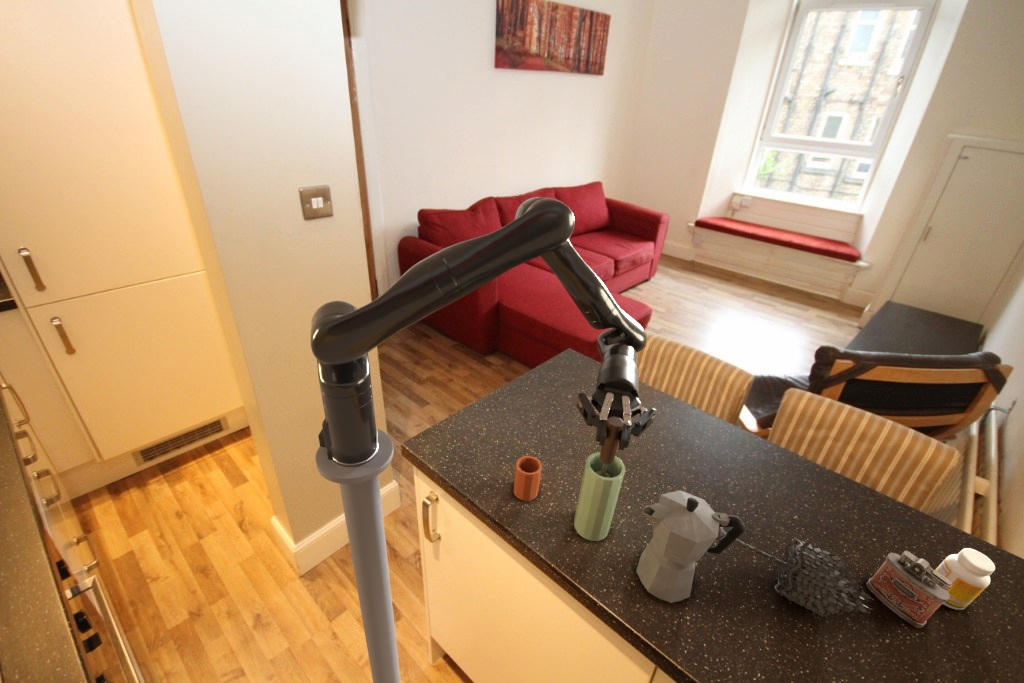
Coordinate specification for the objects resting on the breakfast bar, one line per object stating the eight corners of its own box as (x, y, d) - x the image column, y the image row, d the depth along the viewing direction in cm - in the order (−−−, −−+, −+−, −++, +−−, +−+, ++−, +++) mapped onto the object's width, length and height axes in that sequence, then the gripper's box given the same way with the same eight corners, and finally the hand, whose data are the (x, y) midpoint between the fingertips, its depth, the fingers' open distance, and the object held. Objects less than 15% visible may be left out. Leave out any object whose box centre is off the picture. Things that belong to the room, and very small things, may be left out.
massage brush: (714, 530, 82) (730, 495, 78) (855, 598, 73) (882, 562, 68) (704, 569, 75) (720, 533, 71) (858, 650, 65) (889, 614, 61)
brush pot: (513, 500, 85) (515, 473, 82) (513, 480, 89) (516, 455, 86) (538, 501, 85) (542, 475, 82) (537, 482, 89) (541, 456, 86)
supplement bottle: (916, 582, 76) (947, 546, 71) (939, 576, 77) (971, 540, 72) (950, 614, 71) (985, 578, 67) (973, 607, 73) (1010, 571, 68)
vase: (575, 539, 78) (588, 478, 71) (572, 510, 84) (584, 450, 77) (611, 542, 79) (628, 481, 71) (605, 512, 84) (621, 453, 77)
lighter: (862, 585, 75) (891, 547, 70) (873, 577, 76) (902, 539, 71) (917, 631, 69) (953, 593, 64) (927, 621, 70) (964, 583, 65)
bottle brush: (589, 507, 77) (608, 426, 68) (587, 494, 79) (605, 415, 70) (605, 508, 77) (626, 428, 68) (602, 495, 79) (622, 416, 70)
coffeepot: (627, 599, 70) (653, 522, 61) (620, 545, 78) (642, 471, 69) (727, 611, 69) (768, 536, 60) (709, 556, 77) (743, 483, 68)
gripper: (583, 357, 82) (570, 414, 67) (661, 372, 79) (665, 435, 65) (577, 391, 85) (564, 451, 71) (651, 406, 83) (653, 472, 68)
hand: (612, 443), depth 68 cm, fingers closed on bottle brush, 2 cm apart
